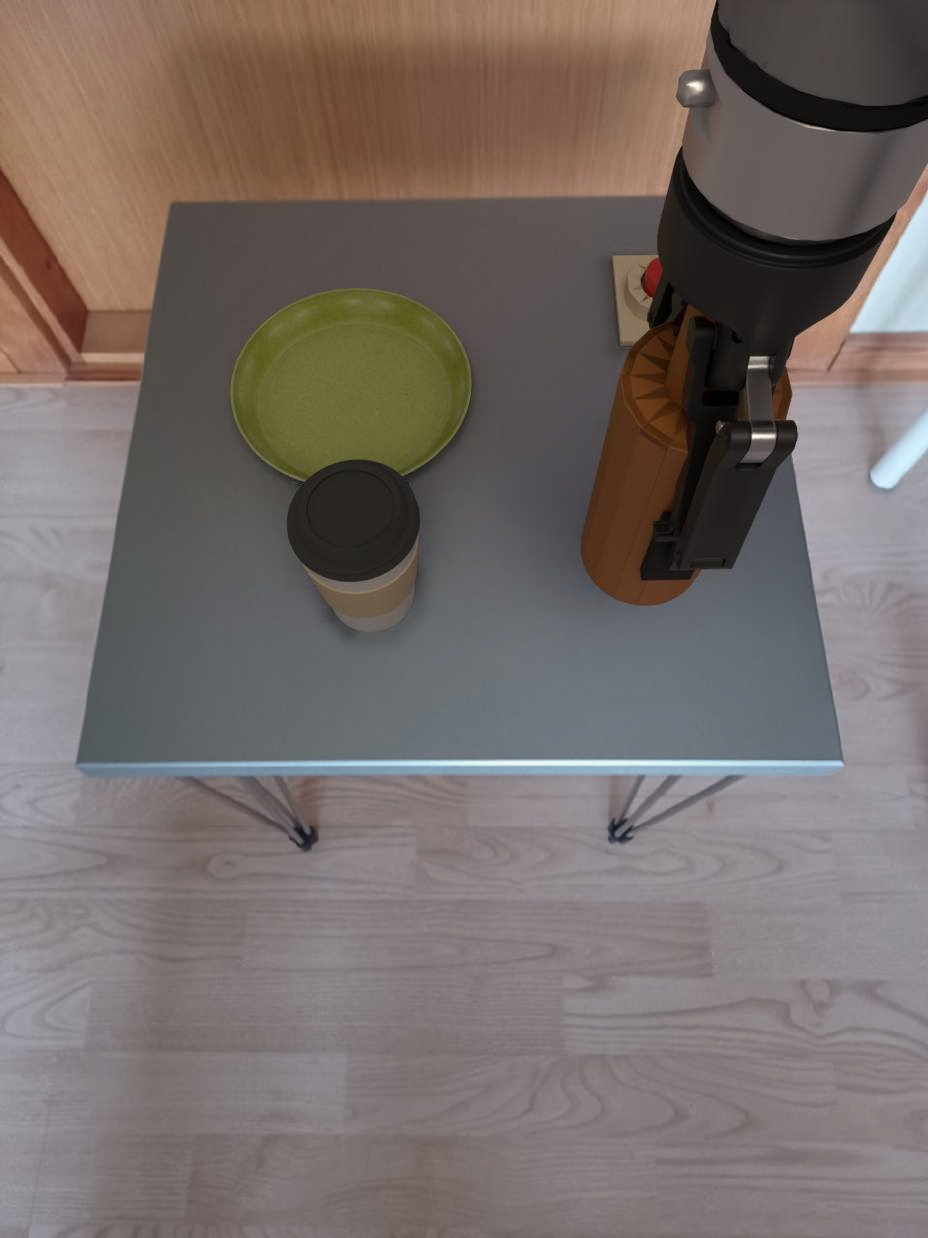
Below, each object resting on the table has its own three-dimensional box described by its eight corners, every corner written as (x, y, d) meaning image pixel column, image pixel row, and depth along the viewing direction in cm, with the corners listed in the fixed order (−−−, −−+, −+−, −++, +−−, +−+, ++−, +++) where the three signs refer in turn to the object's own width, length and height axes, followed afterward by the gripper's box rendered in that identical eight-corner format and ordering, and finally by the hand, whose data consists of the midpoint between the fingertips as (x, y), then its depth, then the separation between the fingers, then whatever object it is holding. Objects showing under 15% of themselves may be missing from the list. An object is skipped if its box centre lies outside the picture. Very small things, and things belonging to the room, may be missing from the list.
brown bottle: (725, 546, 55) (882, 280, 34) (651, 629, 53) (768, 402, 32) (630, 477, 57) (722, 183, 36) (555, 554, 55) (605, 293, 34)
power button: (684, 300, 79) (689, 287, 77) (644, 301, 79) (648, 287, 77) (680, 269, 80) (685, 255, 78) (641, 270, 80) (645, 256, 78)
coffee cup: (294, 589, 71) (251, 499, 57) (379, 522, 73) (357, 419, 59) (366, 667, 68) (338, 593, 54) (451, 596, 70) (446, 506, 56)
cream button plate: (707, 344, 79) (714, 326, 77) (619, 346, 79) (623, 327, 77) (695, 259, 83) (701, 239, 81) (611, 260, 83) (615, 240, 81)
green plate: (464, 512, 73) (463, 493, 70) (221, 500, 74) (211, 480, 71) (477, 315, 81) (478, 290, 78) (257, 305, 81) (249, 280, 78)
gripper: (648, -33, 32) (581, 362, 54) (712, 434, 25) (604, 679, 46) (850, -37, 32) (703, 359, 54) (976, 430, 25) (746, 677, 46)
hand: (657, 507), depth 50 cm, fingers closed on brown bottle, 8 cm apart
